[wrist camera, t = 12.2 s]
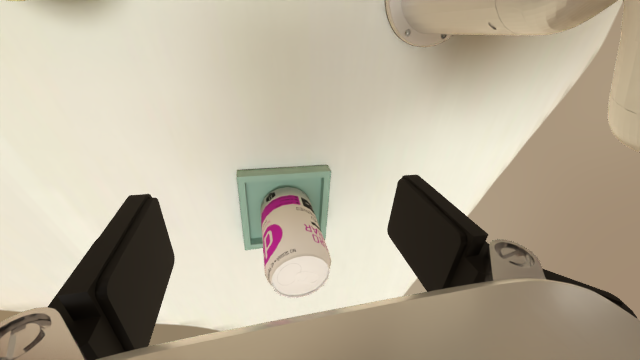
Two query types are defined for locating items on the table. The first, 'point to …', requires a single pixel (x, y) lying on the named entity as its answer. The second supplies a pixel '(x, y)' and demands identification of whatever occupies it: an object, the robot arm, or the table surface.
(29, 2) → the table surface
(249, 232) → the tray
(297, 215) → the supplement can
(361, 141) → the table surface
